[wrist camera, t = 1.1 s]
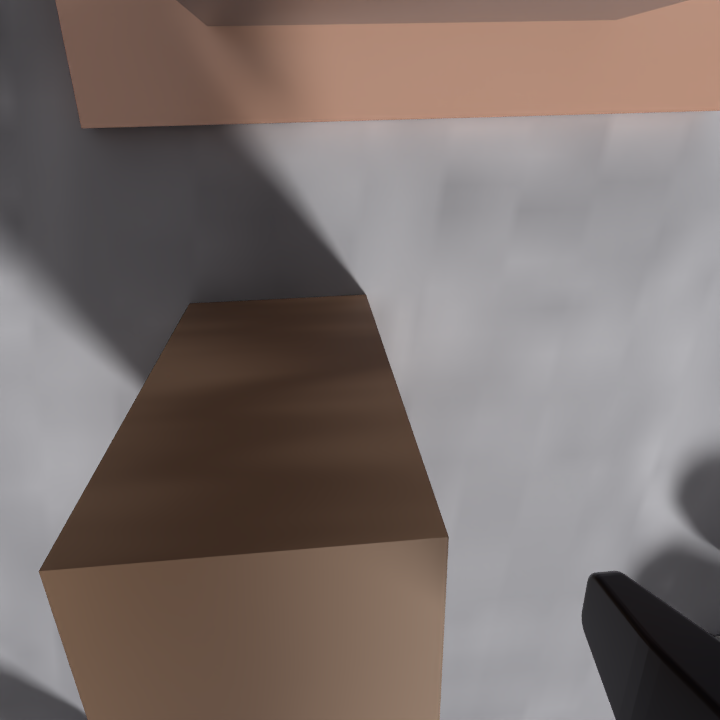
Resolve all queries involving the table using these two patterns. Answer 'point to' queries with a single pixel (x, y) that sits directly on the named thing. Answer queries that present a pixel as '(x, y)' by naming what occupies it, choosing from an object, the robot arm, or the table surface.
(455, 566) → the table surface
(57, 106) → the table surface
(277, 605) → the walnut pin
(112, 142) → the table surface
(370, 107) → the socket housing
